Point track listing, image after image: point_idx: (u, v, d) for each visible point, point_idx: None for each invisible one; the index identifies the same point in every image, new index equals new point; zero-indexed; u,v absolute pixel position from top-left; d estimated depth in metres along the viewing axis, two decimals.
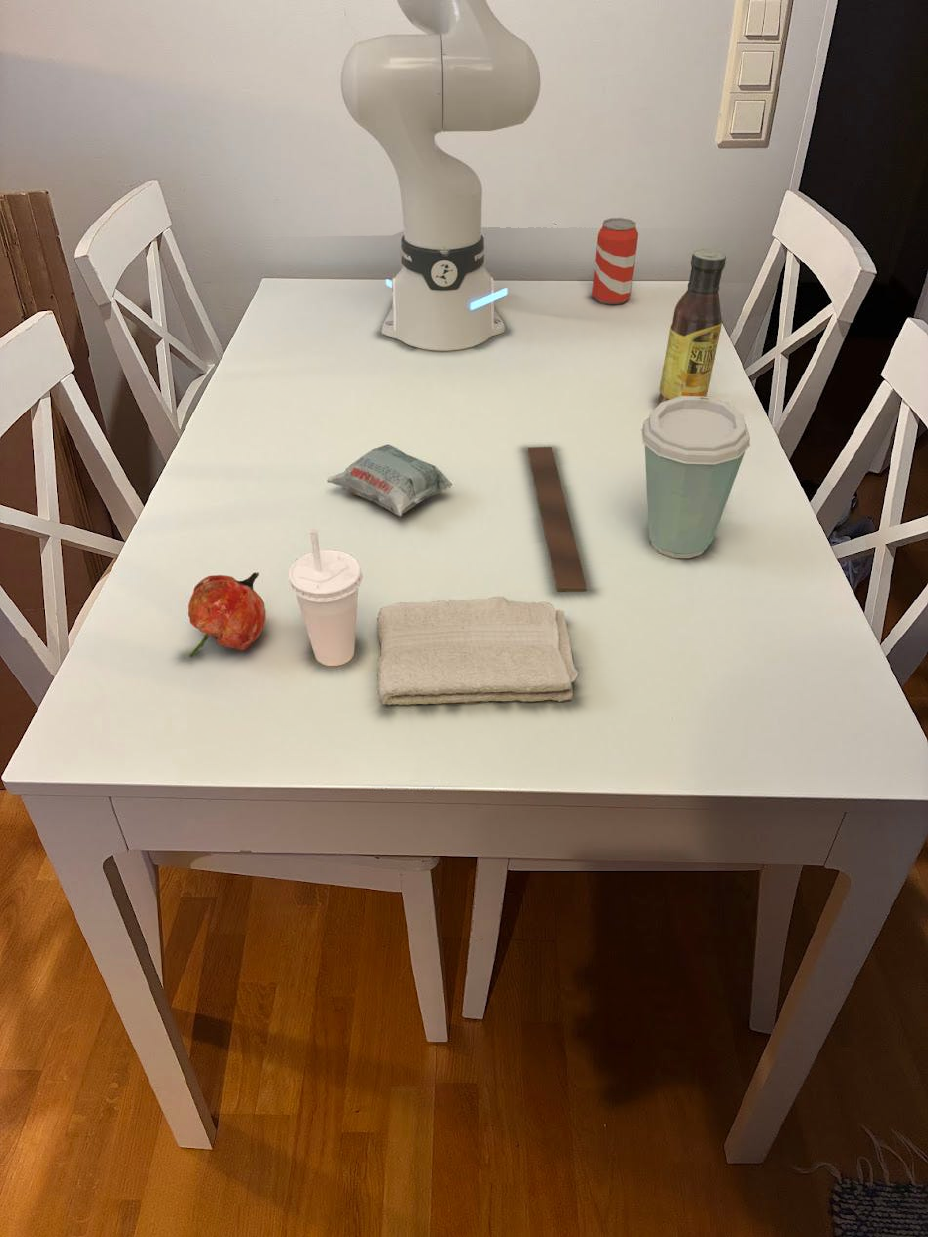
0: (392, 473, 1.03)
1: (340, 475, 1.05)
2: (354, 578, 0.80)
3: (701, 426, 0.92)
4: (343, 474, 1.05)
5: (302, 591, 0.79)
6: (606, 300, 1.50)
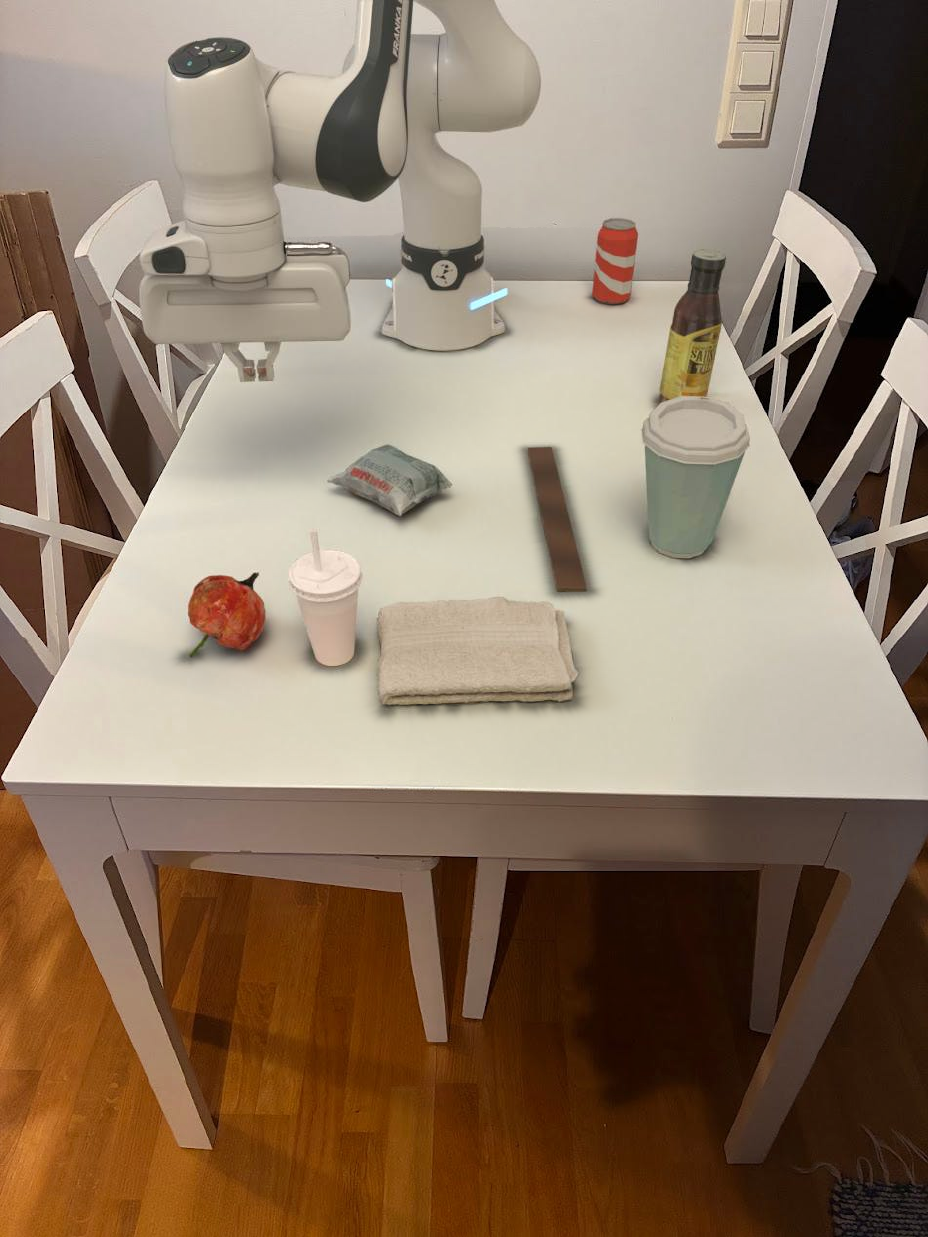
0: (392, 473, 1.03)
1: (340, 475, 1.05)
2: (354, 578, 0.80)
3: (701, 426, 0.92)
4: (343, 474, 1.05)
5: (302, 591, 0.79)
6: (606, 300, 1.50)
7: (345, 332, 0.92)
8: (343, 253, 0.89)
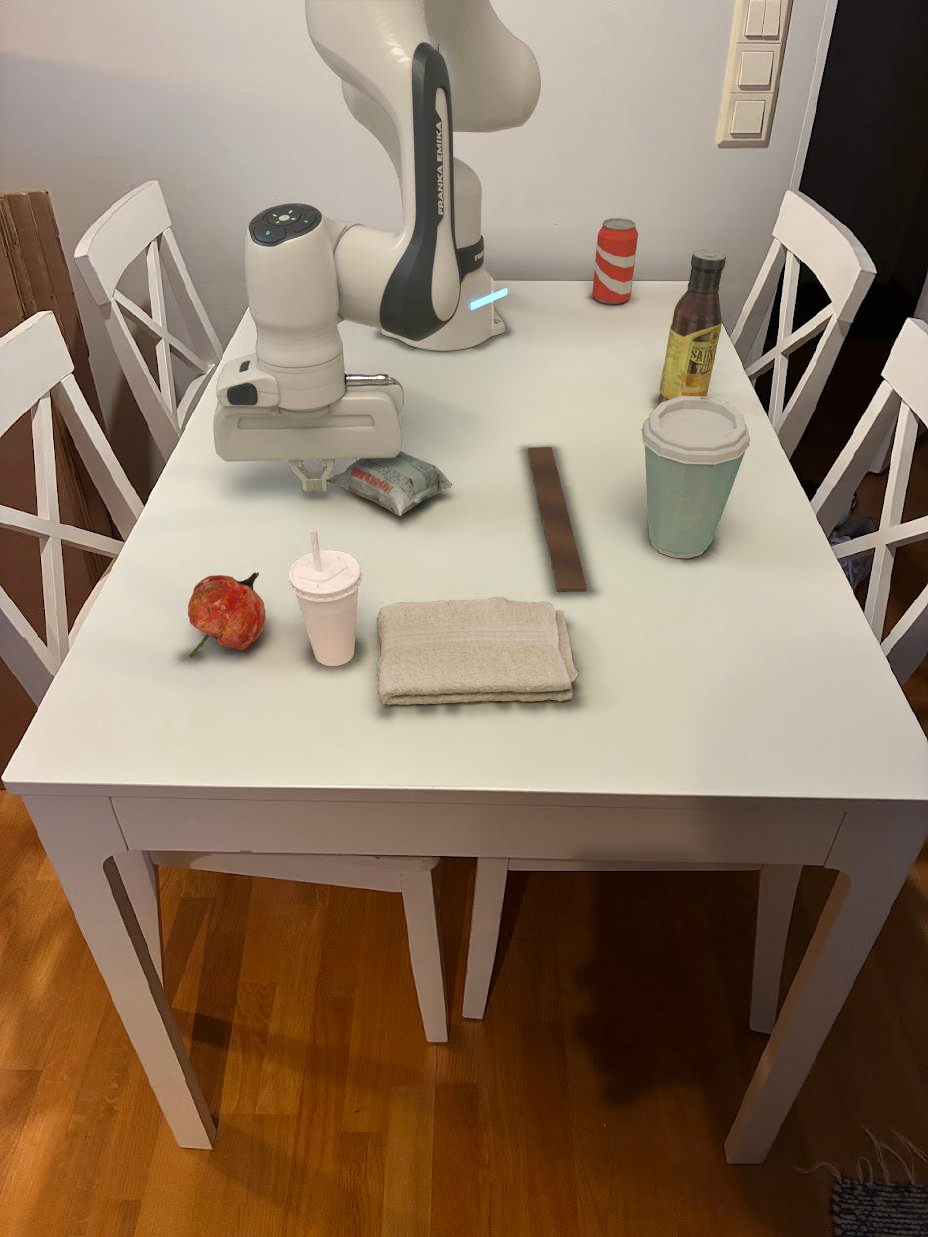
0: (392, 473, 1.03)
1: (340, 475, 1.05)
2: (354, 578, 0.80)
3: (701, 427, 0.92)
4: (343, 474, 1.05)
5: (302, 591, 0.79)
6: (606, 300, 1.50)
7: (398, 451, 1.01)
8: (398, 383, 0.98)
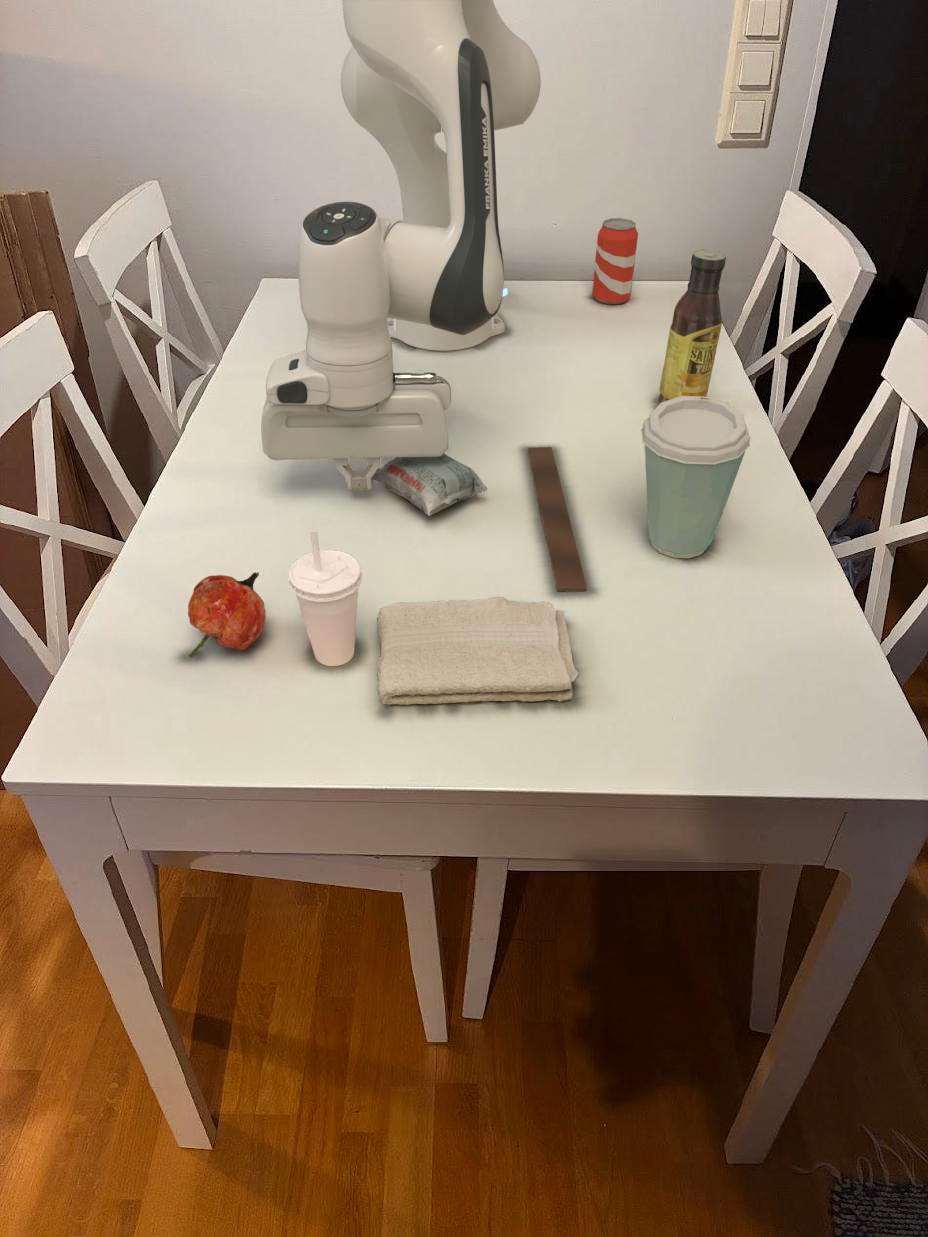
0: (426, 473, 1.03)
1: (377, 471, 1.06)
2: (354, 578, 0.80)
3: (701, 427, 0.92)
4: (380, 470, 1.06)
5: (302, 591, 0.79)
6: (606, 300, 1.50)
7: (444, 450, 1.01)
8: (446, 382, 0.98)
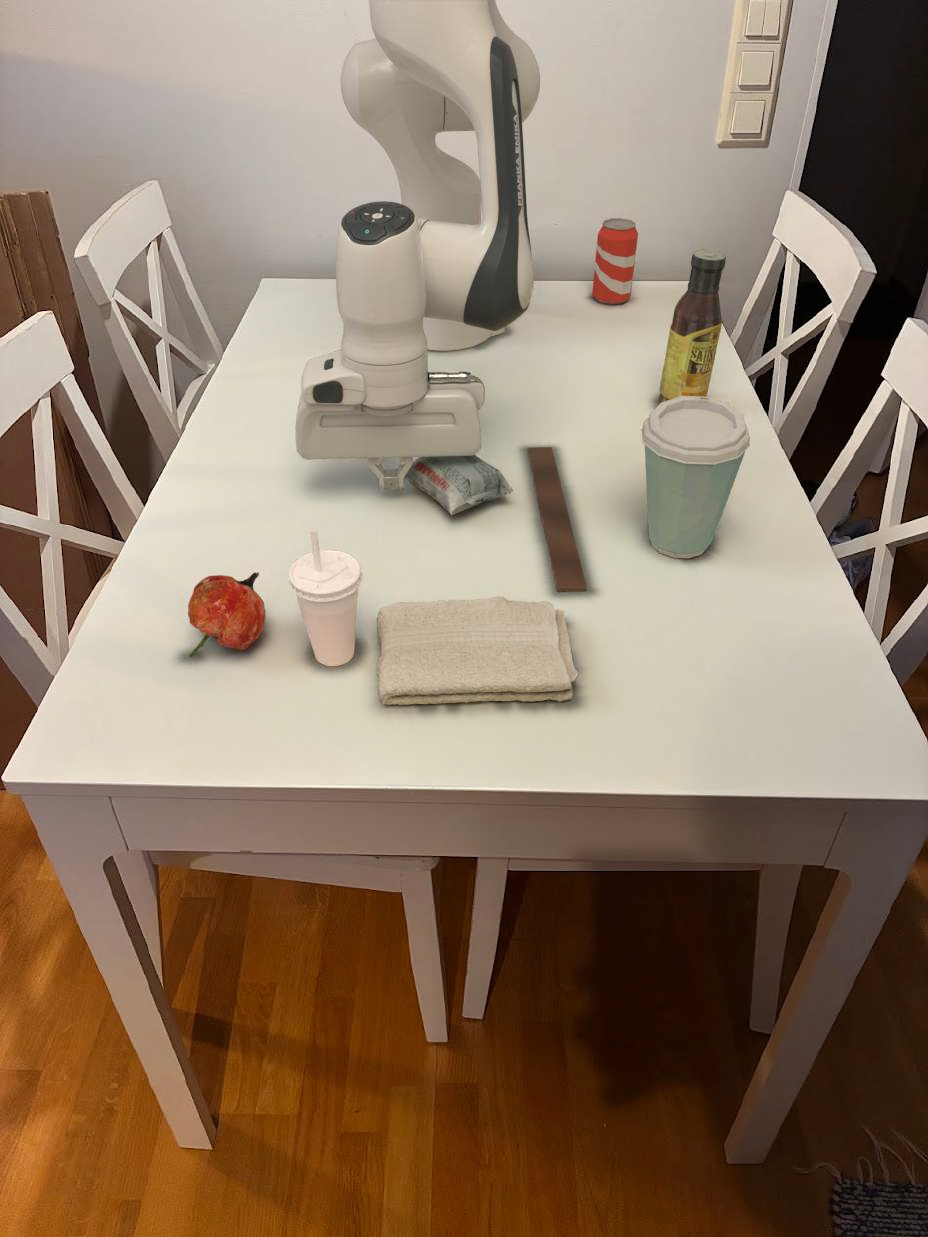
0: (452, 472, 1.03)
1: None
2: (354, 578, 0.80)
3: (701, 426, 0.92)
4: None
5: (302, 591, 0.79)
6: (606, 300, 1.50)
7: (477, 449, 1.02)
8: (480, 381, 0.98)
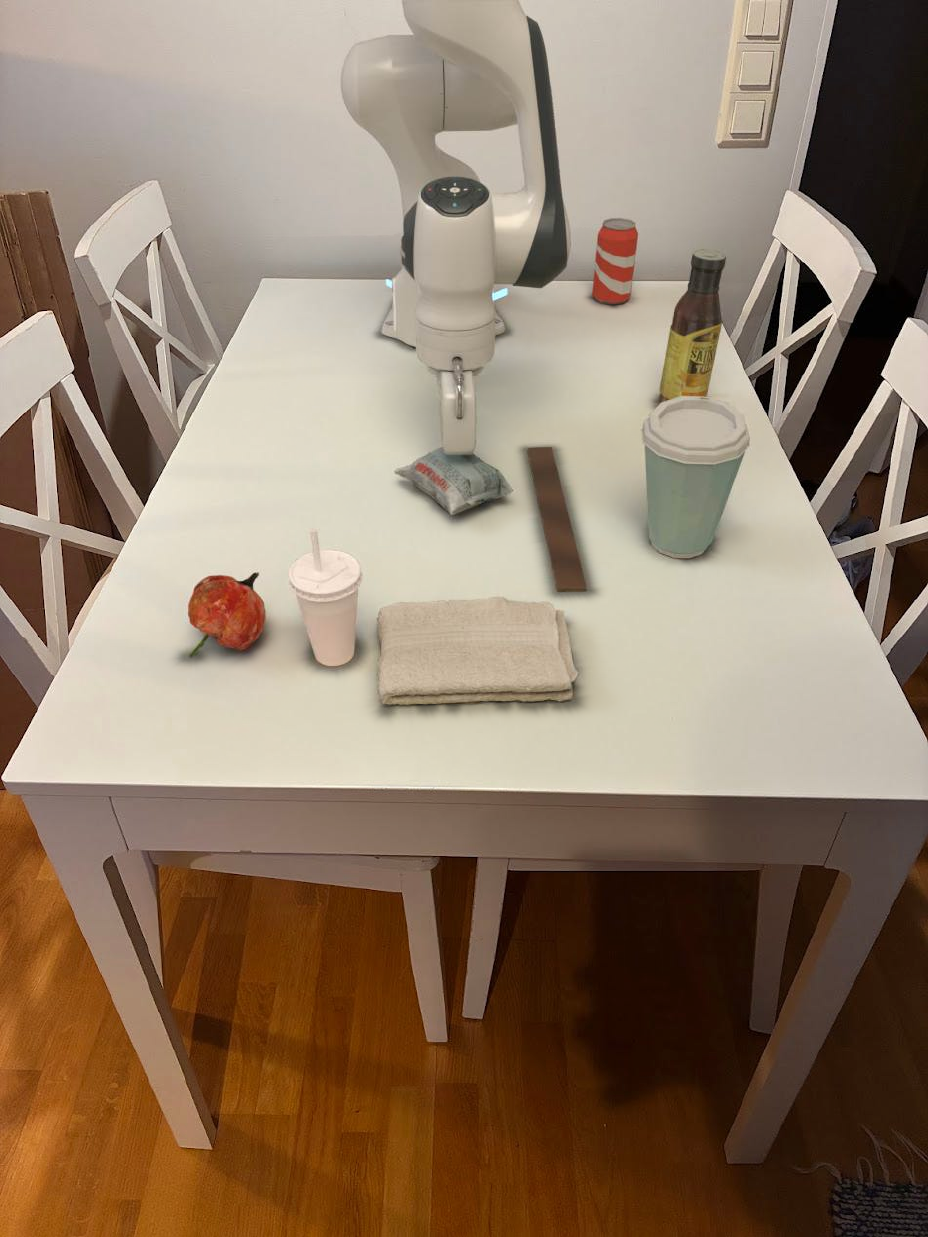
0: (452, 472, 1.03)
1: (406, 468, 1.07)
2: (354, 578, 0.80)
3: (701, 427, 0.92)
4: (409, 467, 1.07)
5: (302, 591, 0.79)
6: (606, 300, 1.50)
7: (443, 449, 1.02)
8: (458, 390, 0.97)
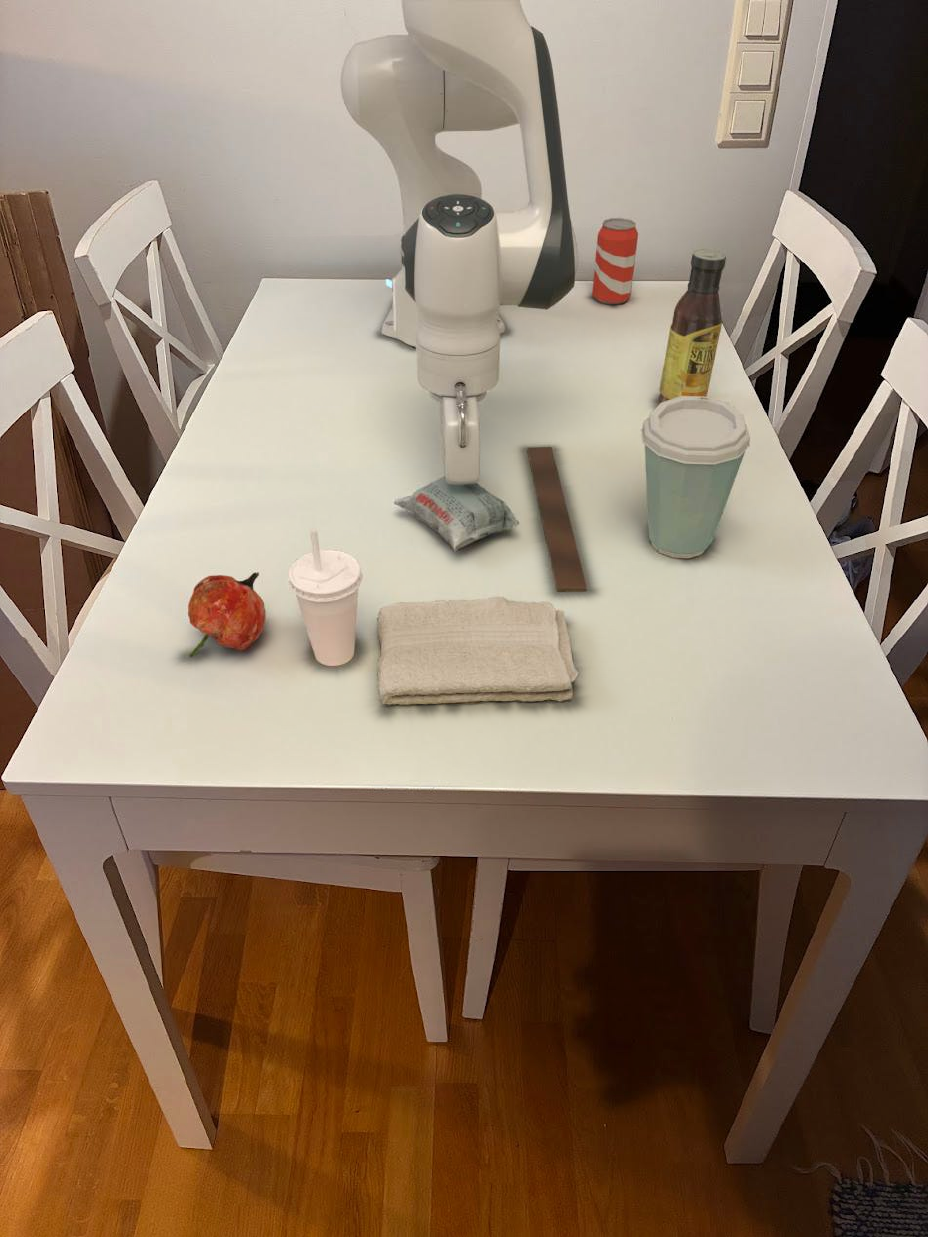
0: (455, 504, 0.98)
1: (406, 498, 1.02)
2: (354, 578, 0.80)
3: (701, 427, 0.92)
4: (409, 498, 1.02)
5: (302, 591, 0.79)
6: (606, 300, 1.50)
7: (446, 479, 0.97)
8: (461, 417, 0.92)
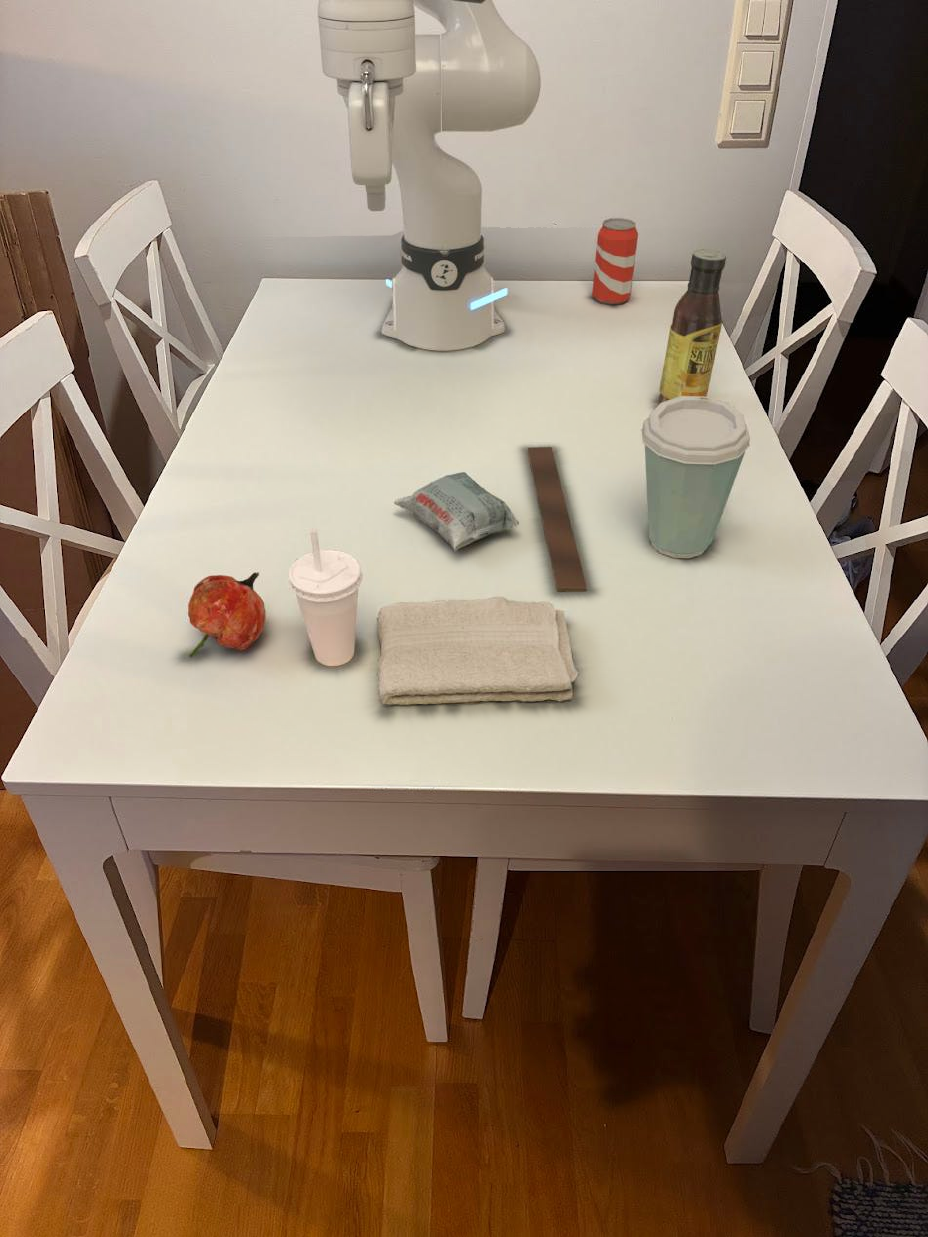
0: (455, 504, 0.98)
1: (406, 498, 1.02)
2: (354, 578, 0.80)
3: (701, 427, 0.92)
4: (409, 498, 1.02)
5: (302, 591, 0.79)
6: (606, 300, 1.50)
7: (352, 175, 0.85)
8: (364, 86, 0.80)
